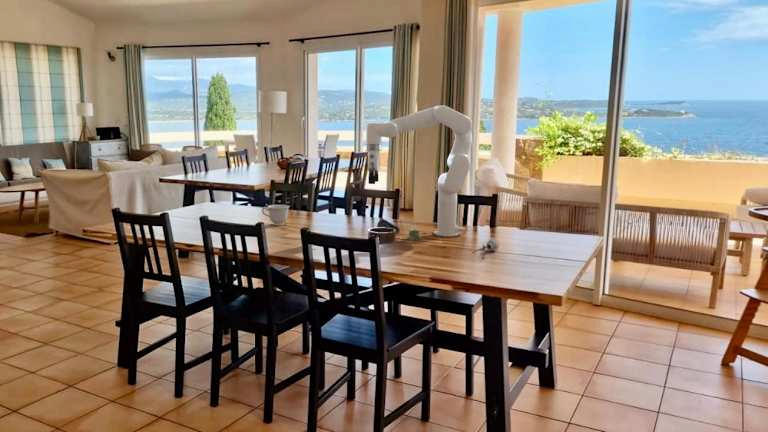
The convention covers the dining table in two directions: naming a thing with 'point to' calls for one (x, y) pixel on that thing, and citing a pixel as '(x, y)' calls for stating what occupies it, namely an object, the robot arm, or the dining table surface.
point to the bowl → (383, 234)
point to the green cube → (413, 234)
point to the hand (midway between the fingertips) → (373, 182)
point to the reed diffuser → (490, 246)
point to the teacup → (277, 213)
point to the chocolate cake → (387, 225)
